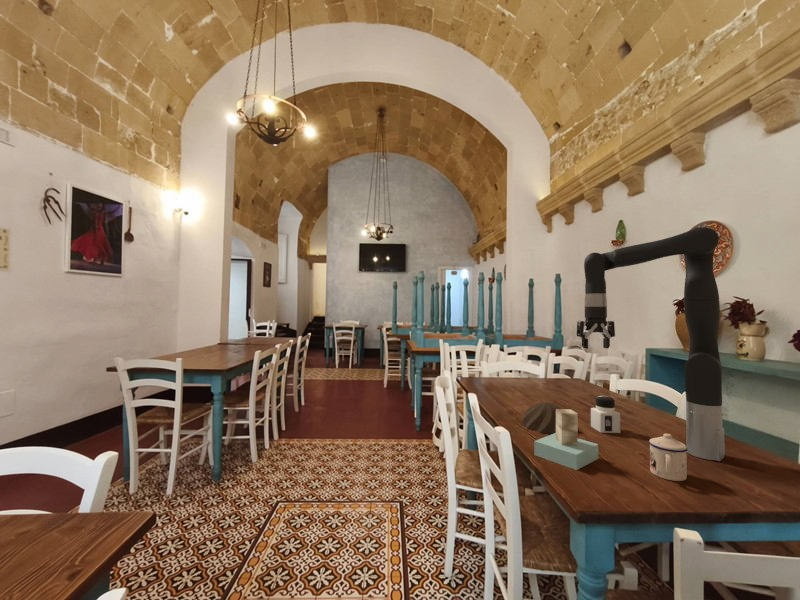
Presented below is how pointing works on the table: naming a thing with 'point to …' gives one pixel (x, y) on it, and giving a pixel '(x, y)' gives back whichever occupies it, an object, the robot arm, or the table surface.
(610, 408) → the container
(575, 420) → the birch block
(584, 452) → the teal block
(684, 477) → the teacup with lid
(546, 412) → the decorative dome
